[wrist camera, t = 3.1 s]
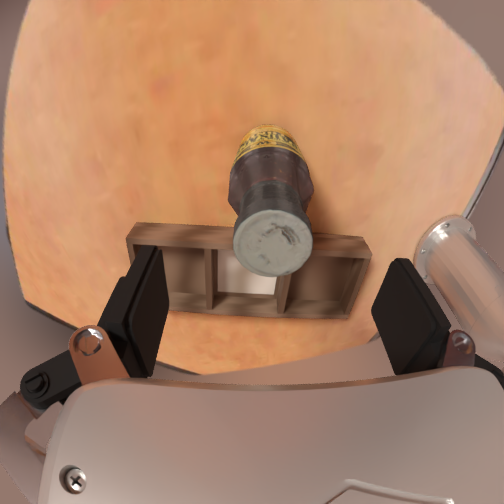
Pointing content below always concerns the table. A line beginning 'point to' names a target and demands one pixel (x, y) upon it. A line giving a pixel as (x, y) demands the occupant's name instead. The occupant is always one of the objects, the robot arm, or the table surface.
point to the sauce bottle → (270, 203)
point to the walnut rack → (253, 274)
